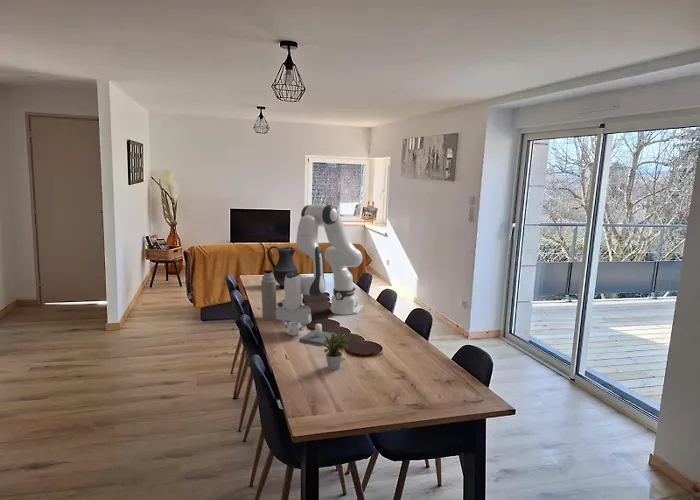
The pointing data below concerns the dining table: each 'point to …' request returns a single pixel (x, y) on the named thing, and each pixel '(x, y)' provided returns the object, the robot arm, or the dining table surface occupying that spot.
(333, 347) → the house plant
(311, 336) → the duct plate
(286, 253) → the pitcher
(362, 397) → the dining table surface
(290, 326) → the collar
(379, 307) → the dining table surface
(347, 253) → the robot arm
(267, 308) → the thermos bottle
